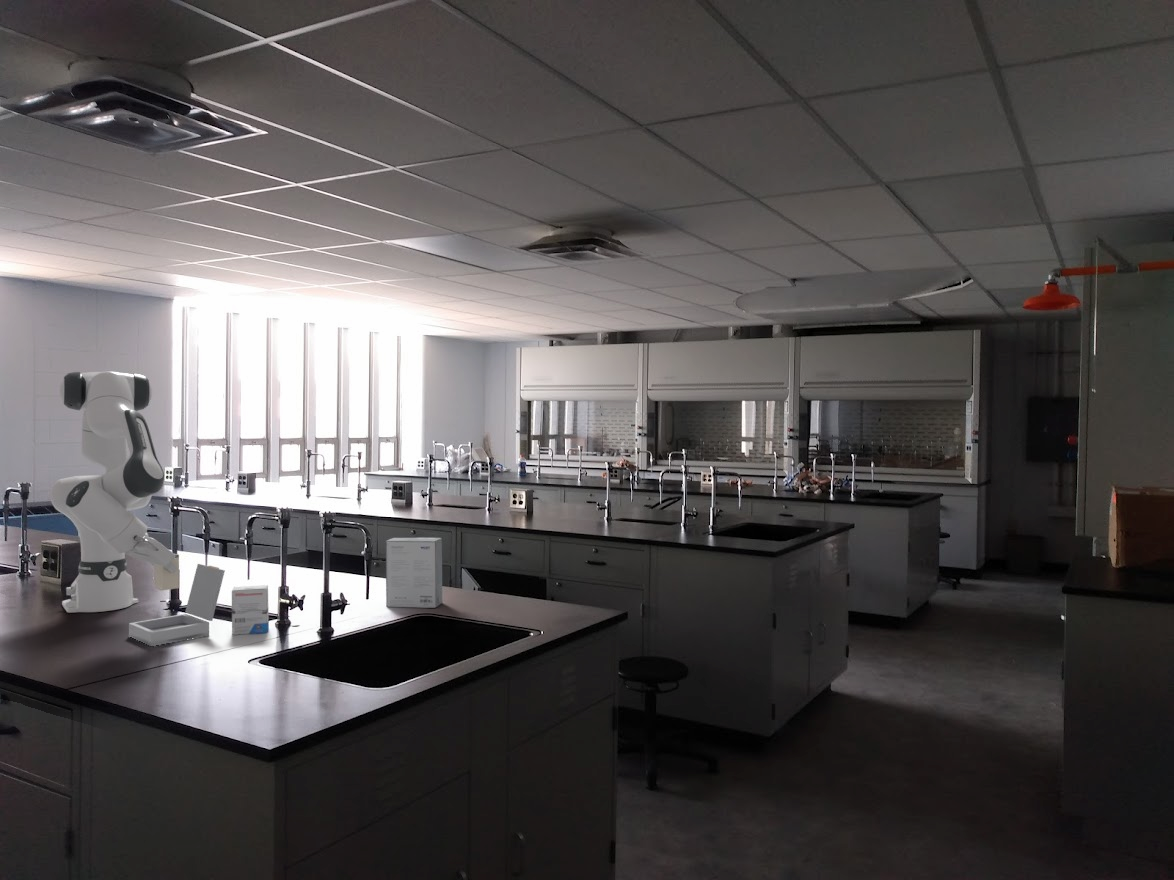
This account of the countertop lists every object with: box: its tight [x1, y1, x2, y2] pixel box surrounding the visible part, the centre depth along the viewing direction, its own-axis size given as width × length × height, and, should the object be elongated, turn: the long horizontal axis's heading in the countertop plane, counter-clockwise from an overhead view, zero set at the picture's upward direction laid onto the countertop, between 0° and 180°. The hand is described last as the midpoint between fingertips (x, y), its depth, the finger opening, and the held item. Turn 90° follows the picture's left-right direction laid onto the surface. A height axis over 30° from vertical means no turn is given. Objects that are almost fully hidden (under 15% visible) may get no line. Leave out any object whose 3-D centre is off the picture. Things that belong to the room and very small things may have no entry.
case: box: [128, 613, 210, 647], centre depth 209 cm, size 14×14×4 cm
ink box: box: [231, 584, 270, 636], centre depth 214 cm, size 9×5×12 cm, turn 106°
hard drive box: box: [385, 537, 443, 609], centre depth 247 cm, size 16×8×20 cm, turn 84°
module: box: [153, 552, 180, 591], centre depth 209 cm, size 5×4×8 cm
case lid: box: [184, 563, 226, 622], centre depth 216 cm, size 14×13×2 cm
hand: (169, 569), depth 209 cm, fingers closed on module, 5 cm apart
